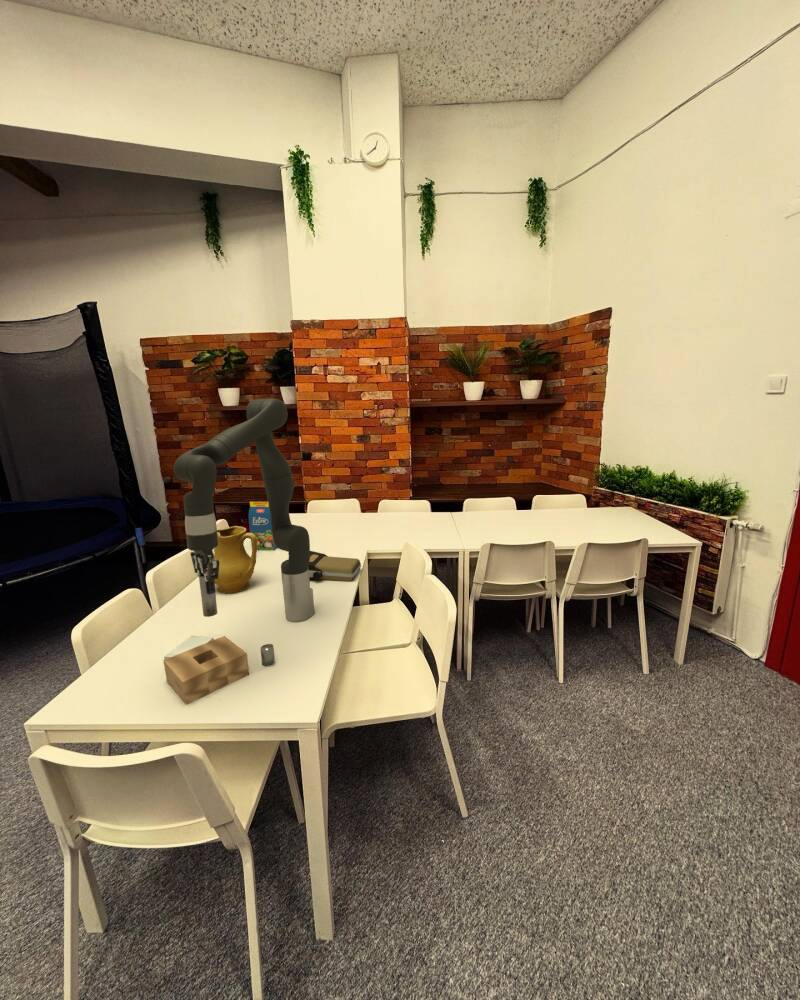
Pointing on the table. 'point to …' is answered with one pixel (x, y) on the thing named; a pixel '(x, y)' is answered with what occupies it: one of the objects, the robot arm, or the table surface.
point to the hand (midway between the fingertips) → (207, 590)
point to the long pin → (207, 599)
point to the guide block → (206, 668)
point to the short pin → (267, 655)
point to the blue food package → (261, 525)
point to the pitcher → (234, 559)
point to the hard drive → (189, 645)
